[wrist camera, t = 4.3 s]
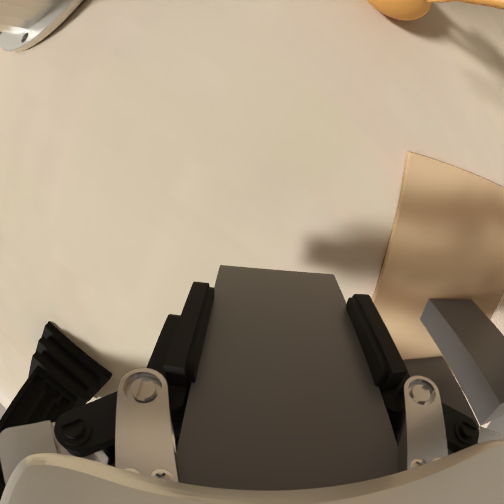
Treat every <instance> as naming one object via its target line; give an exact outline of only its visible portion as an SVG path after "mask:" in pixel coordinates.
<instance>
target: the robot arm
mask: <svg viewBox="0 0 504 504" xmlns="http://www.w3.org/2000/svg"><path fill="white" fill-rule="evenodd" d="M82 1H83V0H0V47H1V48H2V49H3V50H5V51H11V52H19V51H24V50H26V49H28V48H30V47H32V46H34V45H35V44H37V43H38V42H40V41H41V40H43V39H44V38H45V37H46V36H48V35H49V34H50V33H51V32H52V31H54V30H55V29H56V28H57V27H58V26H59V25H60V24H61V23H62V22H63V21H64V20H65V19H66V18H67V17H68V16H69V15H70V14H71V13H72V12H73V11H74V10H75V9H76V8H77V7H78V6H79V5H80V3H81V2H82ZM213 302H214V288H212V287H209V283H202V282H193V284H192V287H191V290H190V292H189V295H188V298H187V300H186V303H185V306H184V308H183V311H182V314H181V316H180V315H172V314H169V315H168V317H167V319H166V321H165V324H164V326H163V328H162V331H161V333H160V336H159V338H158V341H157V343H156V346H155V348H154V351H153V353H152V356H151V358H150V361H149V363H148V366H147V368H138V369H134V370H131V371H129V372H127V373H126V374H125V375H123V377H122V378H121V380H120V382H119V385H118V391H117V392H115V393H112V394H110V395H107V396H105V397H103V398H100V399H98V400H95V401H93V402H90V403H88V404H85V405H82V406H80V407H77V408H75V409H72V410H69V411H67V412H65V413H63V414H61V415H60V417H59V418H58V419H57V421H56V422H53V423H51V422H50V421H49V420H48V421H43V422H38V423H33V424H28V425H22V426H16V427H9V428H6V429H4V430H3V431H2V432H1V433H0V460H1V466H2V471H3V475H4V480H5V484H6V487H5V489H4V492H3V494H2V497H1V500H0V504H504V434H501V433H498V432H495V431H492V430H489V429H486V428H484V427H481V426H480V427H479V428H478V426H477V424H476V422H475V421H474V420H473V419H472V418H470V417H468V416H466V415H465V414H463V413H461V412H459V411H457V410H455V409H453V408H451V407H449V406H448V405H446V404H444V403H442V402H441V399H440V394H439V391H438V388H437V386H436V385H435V383H434V382H432V381H431V380H430V379H428V378H426V377H423V376H413V377H410V375H409V373H408V370H407V368H406V366H405V364H404V361H403V359H402V357H401V355H400V353H399V351H398V349H397V347H396V345H395V343H394V341H393V339H392V337H391V335H390V333H389V331H388V329H387V327H386V325H385V323H384V321H383V320H382V318H381V316H380V314H379V312H378V310H377V308H376V306H375V305H374V303H373V301H372V299H371V297H370V296H369V295H366V294H354V295H353V297H352V298H349V299H348V301H347V304H346V309H347V312H348V314H349V317H350V319H351V322H352V324H353V327H354V329H355V332H356V335H357V337H358V340H359V342H360V345H361V348H362V350H363V353H364V356H365V358H366V361H367V364H368V367H369V370H370V372H371V375H372V378H373V381H374V384H375V387H376V386H379V389H380V392H381V395H382V398H383V401H384V404H385V407H386V410H387V413H388V416H389V419H390V423H391V426H392V429H393V432H394V436H395V439H396V442H397V446H398V463H399V464H398V466H397V473H396V474H392V475H388V476H384V477H380V478H376V479H371V480H367V481H362V482H357V483H351V484H345V485H339V486H332V487H324V488H314V489H302V490H281V491H255V490H234V489H222V488H212V487H204V486H197V485H190V484H184V483H181V481H180V475H179V472H178V471H179V469H178V462H177V455H176V453H177V448H178V443H179V438H180V433H181V428H182V423H183V419H184V414H185V409H186V405H187V400H188V396H189V391H190V387H191V382H193V383H195V381H196V377H197V372H198V367H199V363H200V358H201V354H202V349H203V345H204V341H205V336H206V332H207V327H208V323H209V319H210V315H211V310H212V306H213Z"/></svg>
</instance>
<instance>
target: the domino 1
mask: <svg viewBox="0 0 504 504" xmlns="http://www.w3.org/2000/svg"><path fill="white" fill-rule="evenodd" d="M176 455H177V462H178V469H179V471H178V472H179V475H180V481H181V483H184V484H190V485H197V486H204V487H212V488H222V489H234V490H255V491H281V490H302V489H314V488H324V487H332V486H339V485H345V484H351V483H357V482H362V481H367V480H371V479H376V478H380V477H384V476H388V475H392V474H396V473H397V466H398V464H399V463H398V446H397V442H396V439H395V436H394V432H393V429H392V426H391V423H390V419H389V416H388V413H387V410H386V407H385V404H384V401H383V398H382V395H381V392H380V389H379V386H376V387H375V384H374V381H373V378H372V375H371V372H370V370H369V367H368V364H367V361H366V358H365V356H364V353H363V350H362V348H361V345H360V342H359V340H358V337H357V335H356V332H355V329H354V327H353V324H352V322H351V319H350V317H349V314H348V312H347V309H346V302H345V299H344V297H343V295H342V292H341V290H340V288H339V285H338V283H337V281H336V279H335V276H334V275H333V274H320V273H307V272H294V271H282V270H270V269H258V268H247V267H235V266H224V265H220V268H219V272H218V275H217V279H216V283H215V287H214V302H213V306H212V310H211V315H210V319H209V323H208V327H207V332H206V336H205V341H204V345H203V349H202V354H201V358H200V363H199V367H198V372H197V377H196V381H195V383H193V382H191V387H190V391H189V396H188V400H187V405H186V409H185V414H184V419H183V423H182V428H181V433H180V438H179V443H178V448H177V453H176Z"/></svg>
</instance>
